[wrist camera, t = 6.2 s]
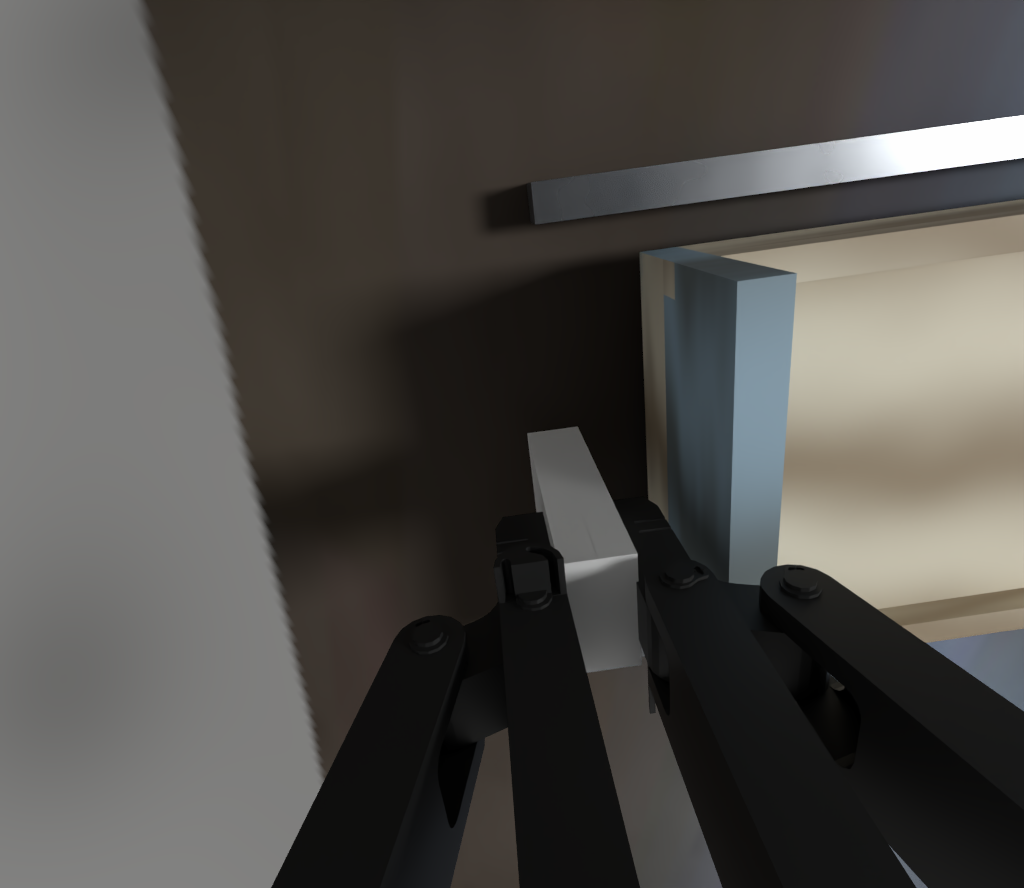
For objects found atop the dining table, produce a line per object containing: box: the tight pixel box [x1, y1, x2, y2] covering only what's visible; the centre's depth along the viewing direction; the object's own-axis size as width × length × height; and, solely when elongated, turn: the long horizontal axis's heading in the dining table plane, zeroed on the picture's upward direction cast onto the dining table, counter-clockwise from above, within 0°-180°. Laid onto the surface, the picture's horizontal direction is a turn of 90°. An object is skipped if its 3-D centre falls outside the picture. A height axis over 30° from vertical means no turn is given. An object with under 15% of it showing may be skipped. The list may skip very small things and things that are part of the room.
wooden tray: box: [639, 199, 1024, 643], centre depth 15 cm, size 12×19×7 cm, turn 98°
